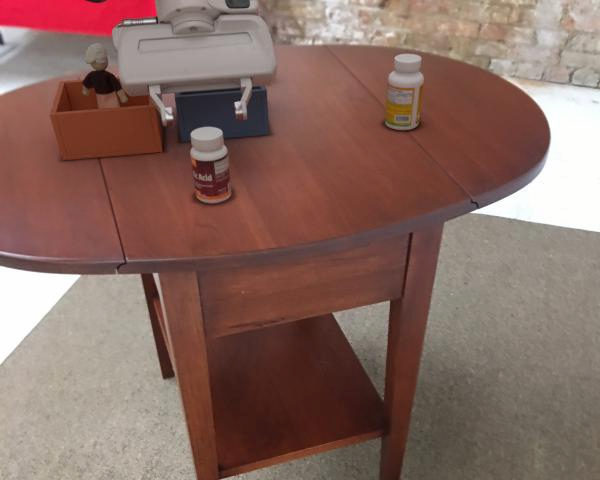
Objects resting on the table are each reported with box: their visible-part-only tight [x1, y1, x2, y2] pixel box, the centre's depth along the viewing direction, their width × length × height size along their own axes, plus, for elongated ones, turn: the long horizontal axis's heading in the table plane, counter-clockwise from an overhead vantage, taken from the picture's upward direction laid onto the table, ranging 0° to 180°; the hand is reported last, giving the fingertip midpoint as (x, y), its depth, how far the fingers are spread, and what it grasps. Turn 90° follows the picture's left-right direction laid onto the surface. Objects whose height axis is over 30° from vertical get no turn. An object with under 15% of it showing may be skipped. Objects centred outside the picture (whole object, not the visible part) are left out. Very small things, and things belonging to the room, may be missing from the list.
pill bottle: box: [189, 127, 232, 204], centre depth 82 cm, size 5×5×8 cm
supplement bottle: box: [384, 53, 425, 131], centre depth 97 cm, size 5×5×10 cm
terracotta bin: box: [49, 76, 164, 161], centre depth 96 cm, size 15×14×7 cm
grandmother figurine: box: [82, 42, 128, 109], centre depth 94 cm, size 8×4×13 cm, turn 78°
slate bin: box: [174, 86, 270, 143], centre depth 100 cm, size 14×14×7 cm
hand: (205, 121), depth 82 cm, fingers open, 8 cm apart
